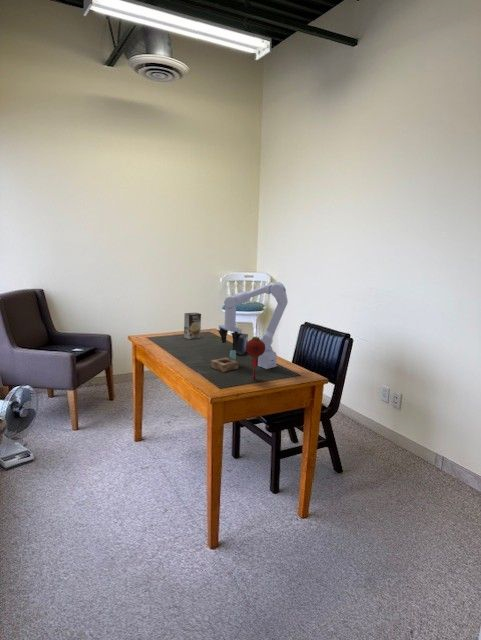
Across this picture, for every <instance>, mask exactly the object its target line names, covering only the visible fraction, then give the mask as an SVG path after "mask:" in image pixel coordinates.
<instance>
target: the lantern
mask: <svg viewBox="0 0 481 640" xmlns="http://www.w3.org/2000/svg"><path fill="white" fill-rule="evenodd" d="M255 322H256V326H255V329H256V330H255V334H257V333H258V332H257V330H258V320H256V321H255ZM246 351H247V352H246V353H247V354H248V355H250V357H251V367H252V368H253V369H252V371H253V372H252V379H253V380H255V379H256V374H257V373H256V371H257V370H256V368H257V367H259V366H258V358H259V356H260V355H262V354H263V353H264V352H265V344H264V342H263V341H261V338H260V337H258V336H253V337H251V338H250V339H248V342H247V344H246Z"/></svg>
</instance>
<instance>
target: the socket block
mask: <svg viewBox="0 0 481 640" xmlns="http://www.w3.org/2000/svg"><path fill="white" fill-rule="evenodd" d="M210 368H212V369H215V370H217V371H220V372H222V373H225V372H229V371H233V370H238V369H239V361H235V360H232V359H230V357H227V356H225V357H222V358H217V359H210Z"/></svg>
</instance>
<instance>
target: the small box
mask: <svg viewBox="0 0 481 640" xmlns="http://www.w3.org/2000/svg"><path fill="white" fill-rule="evenodd" d="M248 341H249V334H248V333H242V332H241V335H240V337H239V339H238V342H237V345H236V346H233V345H232V350H235V351H236V356H237V355H238V356H243V355H244V354H246V353H247V351H246V344H247V342H248Z"/></svg>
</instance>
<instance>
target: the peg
mask: <svg viewBox="0 0 481 640" xmlns="http://www.w3.org/2000/svg"><path fill="white" fill-rule="evenodd" d="M236 357H237V354H236V351H235V350H229V359H232V360H235V361H236Z"/></svg>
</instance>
